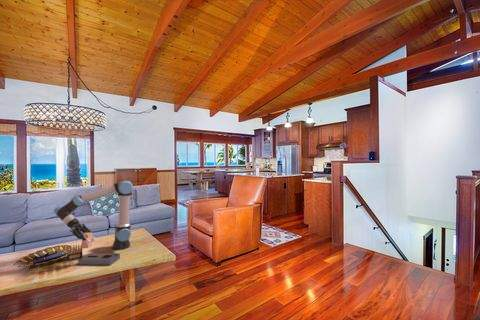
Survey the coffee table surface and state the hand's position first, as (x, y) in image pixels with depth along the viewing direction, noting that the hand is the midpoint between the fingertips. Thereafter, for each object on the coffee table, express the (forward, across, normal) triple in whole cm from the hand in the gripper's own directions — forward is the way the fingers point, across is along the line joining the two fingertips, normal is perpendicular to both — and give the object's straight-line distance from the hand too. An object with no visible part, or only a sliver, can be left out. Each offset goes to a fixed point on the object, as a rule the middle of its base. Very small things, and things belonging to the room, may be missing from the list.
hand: (91, 241), depth 177 cm
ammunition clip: (-1, -7, -26) cm, 27 cm away
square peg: (+1, 0, -6) cm, 6 cm away
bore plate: (+16, -3, -9) cm, 18 cm away
